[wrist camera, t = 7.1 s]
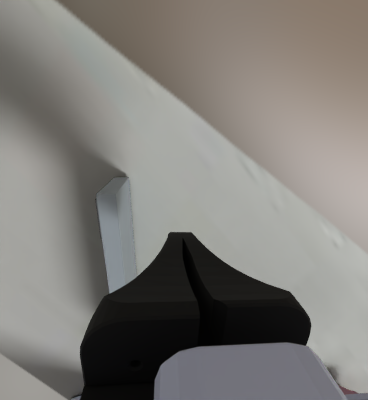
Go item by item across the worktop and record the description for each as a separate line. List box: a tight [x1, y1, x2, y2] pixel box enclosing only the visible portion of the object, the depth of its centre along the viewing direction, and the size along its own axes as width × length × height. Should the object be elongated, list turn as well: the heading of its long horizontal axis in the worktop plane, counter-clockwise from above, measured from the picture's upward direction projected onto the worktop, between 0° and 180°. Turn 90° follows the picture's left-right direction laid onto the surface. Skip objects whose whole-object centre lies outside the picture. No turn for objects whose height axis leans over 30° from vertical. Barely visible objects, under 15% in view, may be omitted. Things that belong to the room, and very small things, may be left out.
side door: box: [95, 177, 137, 293], centre depth 18 cm, size 17×2×5 cm, turn 179°
